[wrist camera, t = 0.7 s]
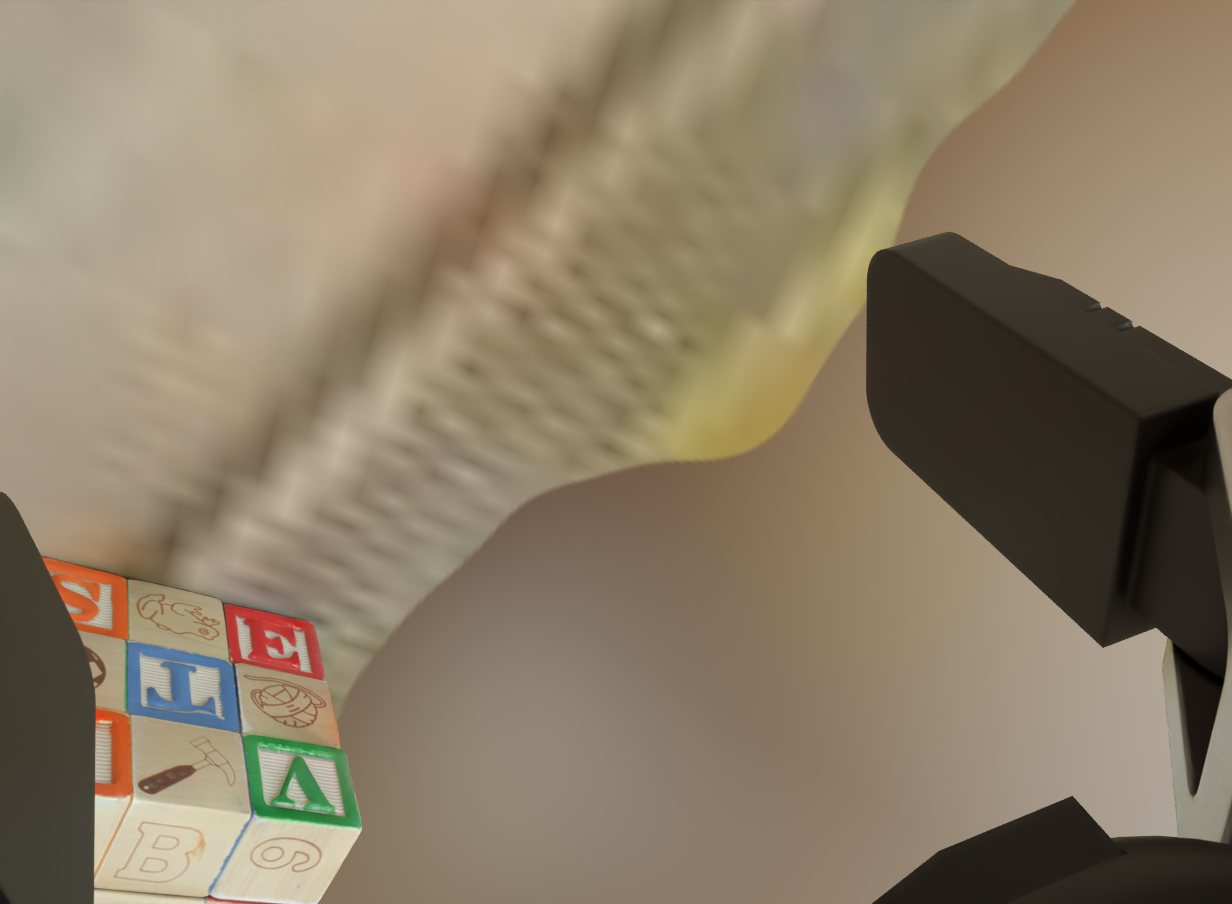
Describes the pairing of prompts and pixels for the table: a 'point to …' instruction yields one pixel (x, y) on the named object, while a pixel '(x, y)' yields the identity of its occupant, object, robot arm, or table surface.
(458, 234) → the table surface
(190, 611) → the stack of blocks
